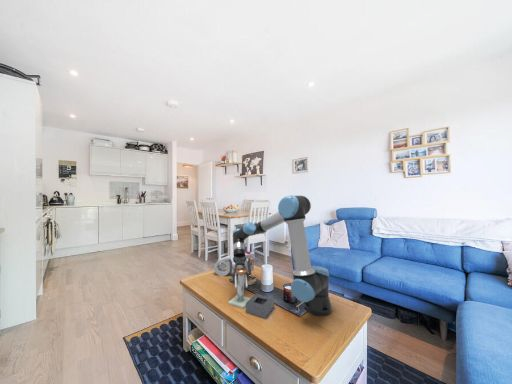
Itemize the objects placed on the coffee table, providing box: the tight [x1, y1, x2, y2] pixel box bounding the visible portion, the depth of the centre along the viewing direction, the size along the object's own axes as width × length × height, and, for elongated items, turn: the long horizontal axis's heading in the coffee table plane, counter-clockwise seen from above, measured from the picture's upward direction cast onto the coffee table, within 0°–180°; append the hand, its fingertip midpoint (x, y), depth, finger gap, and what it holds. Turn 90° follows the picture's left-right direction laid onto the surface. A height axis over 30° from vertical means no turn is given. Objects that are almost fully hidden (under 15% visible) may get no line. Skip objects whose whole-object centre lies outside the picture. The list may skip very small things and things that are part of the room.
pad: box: [227, 294, 252, 309], centre depth 124 cm, size 10×10×1 cm
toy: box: [237, 250, 255, 272], centre depth 161 cm, size 10×17×20 cm, turn 40°
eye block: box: [245, 293, 275, 320], centre depth 116 cm, size 12×12×5 cm
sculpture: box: [213, 255, 238, 277], centre depth 164 cm, size 18×6×15 cm, turn 81°
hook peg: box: [236, 268, 247, 302], centre depth 124 cm, size 6×6×18 cm
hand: (241, 287), depth 120 cm, fingers open, 5 cm apart
